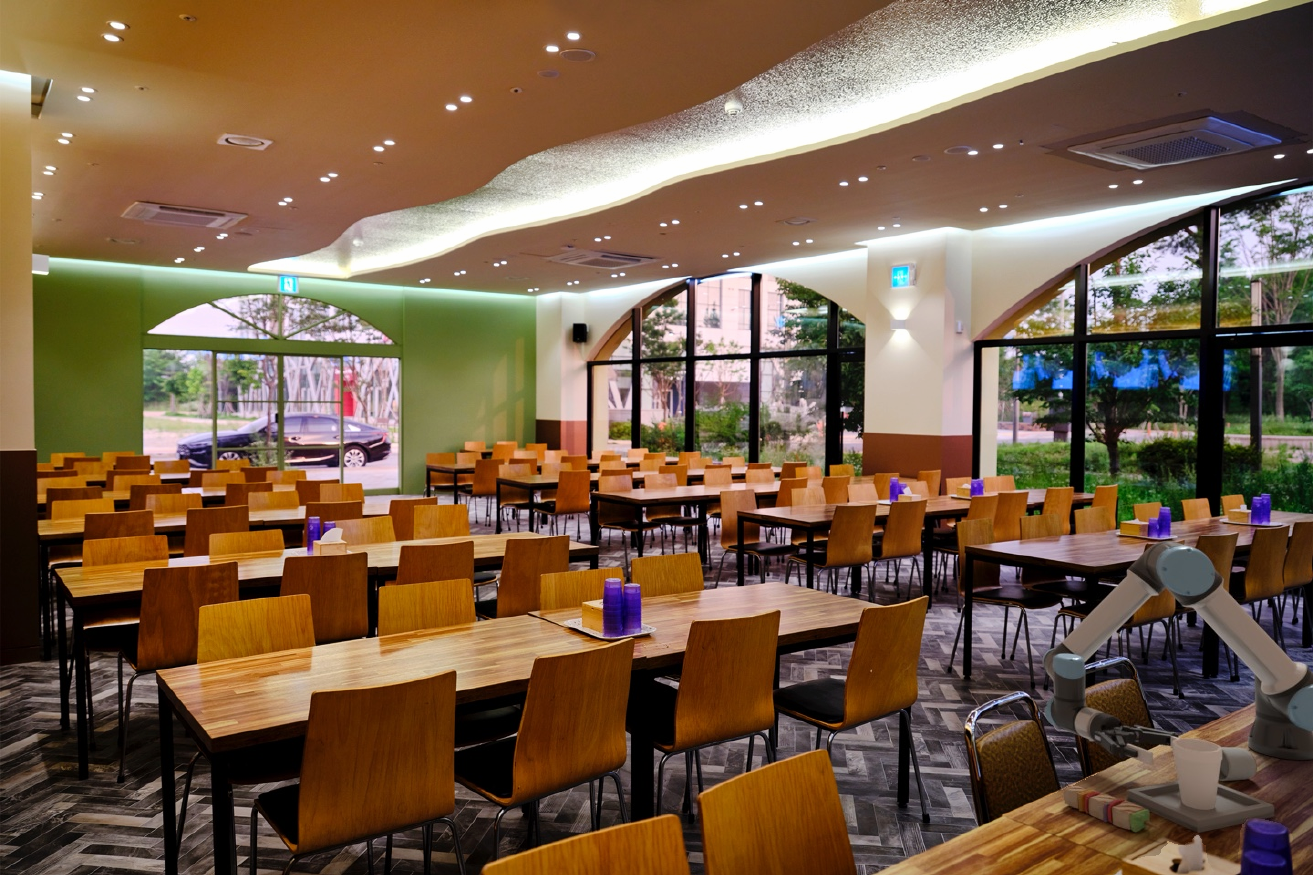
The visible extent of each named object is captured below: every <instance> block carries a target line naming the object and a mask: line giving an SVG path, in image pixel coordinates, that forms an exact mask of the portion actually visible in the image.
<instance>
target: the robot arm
mask: <svg viewBox="0 0 1313 875" xmlns="http://www.w3.org/2000/svg"><path fill="white" fill-rule="evenodd" d="M1224 581H1225V580H1224V578H1223V576H1222V575H1221V574H1220V573H1219V572H1218V571H1217V570H1216V569H1215V566H1214V564H1213V562H1212V560H1210V558H1209V557H1208V556H1207V554H1206V553H1204V552H1203V551H1201V550H1200V549H1198V548H1195V547H1193V546H1190V545H1185V544H1182V543H1180V542H1178V541H1173V540H1166V541H1165V540H1164V541H1160V542H1157V543H1155V544H1152V545H1151V546H1150V547H1148V548H1147V549H1145V551H1144V552H1143V553H1142V554H1141V555H1140V556H1139V557H1138V558H1137V559H1136V560H1135V561H1134V562H1133V563H1132V564H1131V565H1130V566H1129V567H1128V568H1127V570H1126V577H1125V578H1124V579H1122V581H1121V582H1120V583H1118V585H1116V586H1115V587H1114V589H1113V590H1112V591H1111V592H1110V593H1109V594H1108V595H1107V596H1106V597H1105V598H1104V599H1103V600H1102V601H1101V602H1100V603H1099V604H1098V605H1097V606H1096V607H1095V608H1094V609H1093V610H1092V611H1091V612H1090V613H1089V614H1088V615H1087V616H1086V617H1085V618H1084V619H1083V620H1082V621H1081V622H1080V623H1079V624H1078V625H1077V626H1076V627H1075V628H1074V629H1073V631H1072V632H1070V633H1069V635H1068V636H1066V637H1065V638H1064V639H1063V641H1062V642H1061V643H1059V644H1058V645H1057V646H1056V647H1054V648H1050V649H1048V650H1047V651H1046V652H1045V653H1044V654H1043V656H1042V662H1041V663H1042V666H1043V668H1044V671H1045V672H1046V673H1047V675H1048V676H1049V677H1050V678H1051V680H1052V681H1053V697H1051V698H1049V699H1048V700H1047V702H1046V706H1045V707H1044V716H1045V719H1046V721H1048V723H1050V724H1051V725H1052V726H1054V727H1057V729H1060V730H1062V731H1066V732H1069V733H1073V734H1074V735H1077V736H1079V737H1083V738H1085V739H1087V740H1088V741H1089V742H1095V743H1097V744H1099V745H1101V746H1102V747H1103V748H1104V749H1105V750H1106V751H1107V752H1108V753H1109V754H1110V755H1112V756H1118V754H1119V758H1120V759H1126V757H1128V758H1129V757H1130V758H1132V759H1134V760H1137V761H1139V762H1142V763H1145V764H1146V765H1147V764H1148V765H1150V766H1153V765H1154V752H1153V751H1150V750H1147V749H1145V748H1142V747H1139V746H1138V745H1142V744H1143V743H1144V744H1152V745H1160V746H1165V747H1166V746H1167V747H1170V748H1171V749H1172V742H1173V741H1174V740H1175V739H1180V737H1179V733H1177V732H1174V731H1167V730H1162V729H1155V728H1151V727H1146V726H1145V727H1144V726H1142V725H1139V724H1134V725H1133V727H1131V726H1130V725H1124V724H1123V722H1122V721H1121V720H1120V719H1119V718H1118V717H1116V716H1115V715H1111V714H1108V713H1105V712H1103V711H1101V710H1098V709H1095V708H1092V707H1088V706H1087V705H1086V703H1087V702H1086V673H1087V672H1086V671H1087V669H1086V666H1085V663H1086V662H1087V661H1088V660H1089V659H1090V658H1091V657H1092V656H1093V655H1094V654H1095V652H1097V650H1099V649H1100V648H1101V647H1102V646H1103V644H1105V643H1106V642H1107V641H1108V640H1109V639H1110V638H1111V637H1113V635H1114V634H1115V633H1116V632H1117V631H1118V630H1119V629H1120V628H1121V627H1122V626H1123V625H1124V624H1125V623H1126V622H1128V620H1129V619H1130V618H1131V617H1132V616H1133V615H1134V614H1135V613H1136V612H1137V611H1138V610H1139V609H1140V608H1142V606H1143V605H1144V604H1145V603H1146V602H1147V601H1148V600H1149V599H1150V598H1151V597H1152V596H1155V597H1156V596H1159V595H1160V594H1161V593H1162V592H1163V591H1165V589H1166V590H1167V591H1168V592H1169V593H1170V594H1171V595H1172V597H1174V598H1175V599H1176V600H1177V601H1178V603H1179V604H1180V605H1181V606H1182V607H1186V608H1192V609H1193V610H1195V611H1196V613H1197V614H1198V615H1199V616H1200V617H1201V618H1202V619H1203V620H1204V621H1205V622H1206V623H1207V624H1208V625H1209V626H1210V628H1211V629H1212V630H1213V631H1214V632H1215V633H1216V634H1217V635H1218V637H1220V639H1221V640H1222V641H1223V642H1224V643H1225V644H1226V645H1227V646H1228V647H1229V648H1230V650H1232V651H1233V652H1234V654H1235V655H1236V656H1237V657H1238V658H1239V659H1240V660H1241V661H1242V662H1243V663H1244V664H1245V666H1247V667H1248V668H1249V669H1250V671H1251V672H1252V673H1253V676H1254V677H1253V678H1254V708H1255V713H1254V714H1255V717H1254V720H1253V723H1252V726H1251V728H1250V731H1249V734H1248V737H1247V746H1248V747H1249V748H1250V749H1251V750H1253V751H1254V752H1257V753H1260V754H1261V755H1264V756H1268V757H1272V758H1278V759H1282V760H1283V759H1285V760H1290V761H1292V760H1294V761H1311V760H1313V671H1311V670H1310V669H1309V666H1308V665H1307V664H1306V663H1303V662H1299V661H1293V660H1292V659H1291V658H1290V657H1289V655H1287V653H1286V652H1285V651H1284V650H1283V649H1282V648H1281V647H1280V646H1279V645H1278V644H1277V643H1276V642H1275V641H1274V640H1273V639H1272V638H1271V637H1270V635H1269V634H1268V633H1267V632H1266V631H1265V630H1264V629H1263V628H1262V627H1261V626H1260V625H1259V624H1258V623H1257V622H1256V620H1254V619H1253V617H1251V615H1250V614H1249V613H1248V612H1247V611H1246V610H1245V609H1244V608H1243V607H1242V606H1241V605H1240V603H1238V602H1237V600H1236V599H1234V598H1233V595H1231V594H1230V593H1229V592H1228V591H1227V590H1226V589H1225V588H1224ZM1137 738H1138V739H1137ZM1135 744H1136V745H1137V746H1136V745H1135Z"/></svg>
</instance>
